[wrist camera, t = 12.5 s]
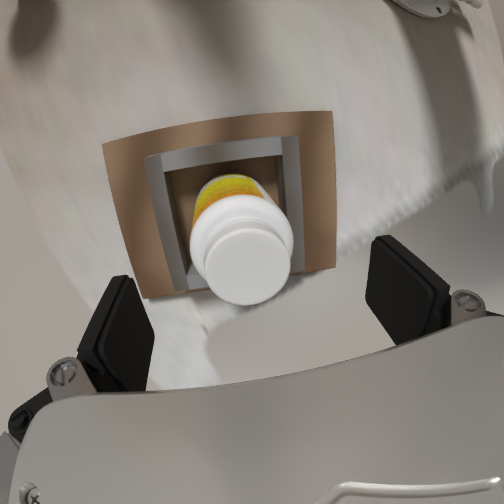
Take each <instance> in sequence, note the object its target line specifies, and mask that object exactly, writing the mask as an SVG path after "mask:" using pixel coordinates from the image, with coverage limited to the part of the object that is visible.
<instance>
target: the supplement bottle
mask: <svg viewBox="0 0 504 504" xmlns="http://www.w3.org/2000/svg"><path fill="white" fill-rule="evenodd" d="M293 246H294V239H293V233H292V229H291V226H290V223H289V221H288V220H287V218H286V216H285V215H284V213H283V212H282V211H281V210H280V208H279V207H278V206H277V205H276V203H275V202H274V201H273V199H272V198H271V197H270V196H269V195H268V193H267V192H266V191H265V190H264V189H263V188H262V186H261V185H260V184H259V183H258V182H257V181H255V180H254V179H253V178H251V177H249V176H247V175H244V174H240V173H224V174H221V175H218V176H216V177H214V178H212V179H211V180H210V181H208V182H207V183H206V184H205V185H204V186H203V188H202V189H201V191H200V192H199V195H198V197H197V200H196V205H195V211H194V217H193V223H192V230H191V237H190V254H191V259H192V261H193V264H194V266H195V268H196V270H197V271H198V273H199V274H200V275H201V276H202V278H203V279H204V280H206V281H207V283H208V285H209V287H210V289H211V290H212V291H213V292H214V293H215V294H216V295H217V296H218V297H219V298H221V299H223V300H224V301H226V302H229V303H232V304H236V305H254V304H258V303H261V302H264V301H266V300H268V299H270V298H271V297H273V296H274V295H275V294H277V293H278V292H279V291H280V290H281V288H282V287H283V286H284V284H285V283H286V281H287V279H288V276H289V273H290V265H291V262H290V259H291V256H292V252H293Z"/></svg>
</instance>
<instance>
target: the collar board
mask: <svg viewBox="0 0 504 504" xmlns="http://www.w3.org/2000/svg"><path fill="white" fill-rule="evenodd" d="M102 148H103V153H104V159H105V164H106V169H107V174H108V179H109V183H110V188H111V192H112V196H113V201H114V205H115V209H116V213H117V217H118V220H119V224H120V228H121V231H122V235H123V238H124V242H125V245H126V249H127V252H128V255H129V258H130V262H131V265H132V268H133V271H134V274H135V277H136V280H137V283H138V286H139V289H140V292H141V294H142V297H143V299H146V298H153V297H160V296H167V295H174V294H181V293H188V292H195V291H201V290H208V289H210V287H209V285H208V283H207V281H206V280H204V279H203V278H202V276H201V275H200V274H199V273H198V271H197V270H196V268H195V266H194V264H193V261H192V259H191V254H190V237H191V230H192V223H193V217H194V211H195V205H196V200H197V197H198V195H199V192H200V191H201V189H202V188H203V186H204V185H205V184H206V183H207V182H208V181H210V180H211V179H212V178H214V177H216V176H218V175H221V174H224V173H240V174H244V175H247V176H249V177H251V178H253V179H254V180H255V181H257V182H258V183H259V184H260V185H261V186H262V188H263V189H264V190H265V191H266V192H267V193H268V195H269V196H270V197H271V198H272V199H273V201H274V202H275V203H276V205H277V206H278V207H279V208H280V210H281V211H282V212H283V213H284V215H285V216H286V218H287V220H288V221H289V223H290V226H291V229H292V233H293V239H294V246H293V252H292V256H291V259H290V262H291V265H290V273H289V276H292V275H297V274H303V273H308V272H314V271H319V270H325V269H330V268H335V267H336V230H337V202H336V164H335V144H334V128H333V115H332V111H302V112H281V113H267V114H255V115H245V116H236V117H228V118H221V119H213V120H207V121H201V122H194V123H189V124H183V125H178V126H173V127H168V128H163V129H158V130H154V131H149V132H145V133H141V134H137V135H133V136H129V137H125V138H121V139H118V140H114V141H111V142H107V143H104V144H102Z"/></svg>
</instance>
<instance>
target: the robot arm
mask: <svg viewBox="0 0 504 504" xmlns="http://www.w3.org/2000/svg"><path fill="white" fill-rule="evenodd" d="M392 1H394V2H395V3H397V4H398V5H399V6H401V7H402V8H404V9H406V10H408V11H409V12H411V13H414V14H416V15H418V16H421V17H425V18H437V17H441V16H444V15H446V14H447V13H448V12H449V10H450V7H451V1H453V0H392ZM459 1H465V2H466V3H467V4H469V5H471V6H472V7H474V8H476V9H478V8H480V7H481V6H482V2H481V0H459ZM449 290H450V285H448V284H447V283H446V282H445V281H444V280H443V279H442V278H441V277H439V276H438V275H437V274H436V273H435V272H434V271H433V270H432V269H431V268H429V267H428V266H427V265H426V264H425V263H424V262H423V261H421V260H420V259H419V258H418V257H417V256H415V255H414V254H413V253H412V252H410V251H409V250H408V249H407V248H406V247H405V246H403V245H402V244H401V243H400V242H398V241H397V240H396V239H395V238H393V237H392V236H391V235H383V236H377V237H376V238H375V240H374V241H372V244H371V253H370V264H369V272H368V280H367V287H366V294H365V299H366V303H367V304H368V306H369V307H370V309H371V310H372V312H373V313H374V314H375V316H376V317H377V318H378V320H379V321H380V323H381V324H382V326H383V327H384V329H385V330H386V331H387V333H388V334H389V336H390V337H391V339H392V340H393V342H394V343H395V345H396V346H394V347H390V348H387V349H384V350H381V351H378V352H374V353H372V354H368V355H365V356H361V357H357V358H354V359H350V360H346V361H343V362H339V363H335V364H331V365H327V366H323V367H319V368H315V369H310V370H306V371H301V372H297V373H292V374H287V375H281V376H276V377H271V378H266V379H259V380H253V381H246V382H240V383H233V384H225V385H217V386H208V387H198V388H187V389H173V390H158V391H146V384H147V378H148V372H149V366H150V361H151V355H152V350H153V345H154V339H155V336H154V331H153V328H152V326H151V323H150V321H149V319H148V316H147V314H146V311H145V308H144V306H143V303H142V301H141V298H140V295H139V293H138V290H137V287H136V284H135V282H134V279H133V278H129V277H128V275H121V276H114V277H112V279H111V281H110V283H109V284H108V286H107V288H106V290H105V292H104V294H103V296H102V298H101V300H100V302H99V304H98V306H97V308H96V310H95V312H94V314H93V316H92V318H91V320H90V322H89V324H88V327H87V329H86V331H85V333H84V335H83V338H82V340H81V342H80V344H79V347H78V349H77V351H78V355H77V357H76V358H74V357H66V358H63V359H60V360H58V361H57V362H55V363H54V364H53V365H52V366H51V368H50V369H49V371H48V373H47V377H46V381H47V385H48V387H47V388H46V389H45V390H43V391H42V392H40V393H39V394H37V395H36V396H34V397H33V398H31V399H30V400H28V401H27V402H26V403H24V404H23V405H21V406H20V407H18V408H17V409H16V410H15V411H14V412H13V413H12V414H11V416H10V419H9V422H8V429H9V433H7V432H4V433H3V434H2V435H1V436H0V504H504V316H503V315H500V314H496V313H492V312H489V311H486V308H485V304H484V301H483V300H482V298H481V297H480V296H478V295H477V294H475V293H474V292H471V291H468V290H458V291H455V292H454V293H453V294H452V296H451V295H450V294H449Z"/></svg>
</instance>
